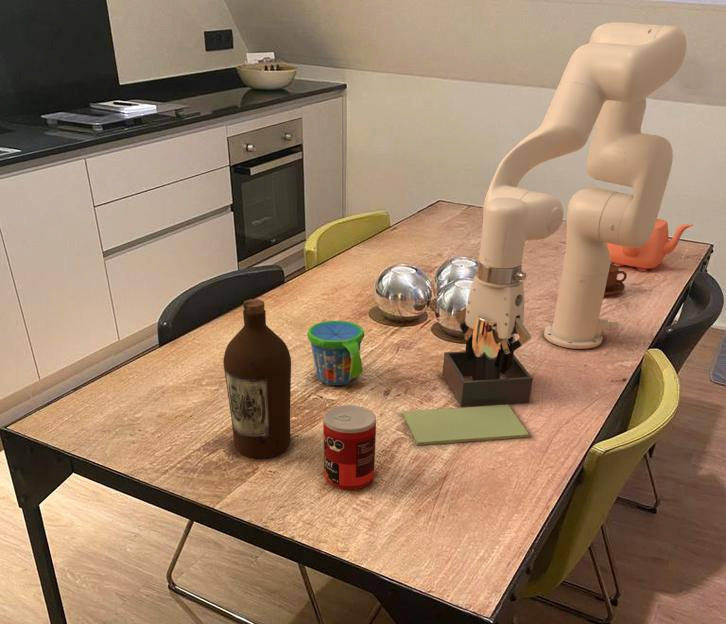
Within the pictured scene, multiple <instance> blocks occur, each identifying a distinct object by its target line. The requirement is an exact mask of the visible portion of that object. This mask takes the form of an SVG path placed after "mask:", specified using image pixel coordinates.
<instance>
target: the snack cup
mask: <svg viewBox="0 0 726 624" xmlns="http://www.w3.org/2000/svg"><path fill="white" fill-rule="evenodd" d="M306 336H307V339H308V341H309V342H310V345H311V352H312V357H313V363H314V368H315V372H316V377H317V379H318V380H319V382H321V383H323V384H325V385H327V386H346V385H348V384H350V383H351V382H353V381H354V380H355V378H358V377H359V376H361V375H362V374H363V372H364V371H363V370H364V369H363V363H362V358H361V344H362V342H363V339H364V338H365V331H364V329H363V328H362V326H360V325H359V324H357V323H354V322H351V321H345V320H326V321H321V322H317V323H314V324H313V325H312V326H310V327H309V328H308V331H307V335H306Z"/></svg>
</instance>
